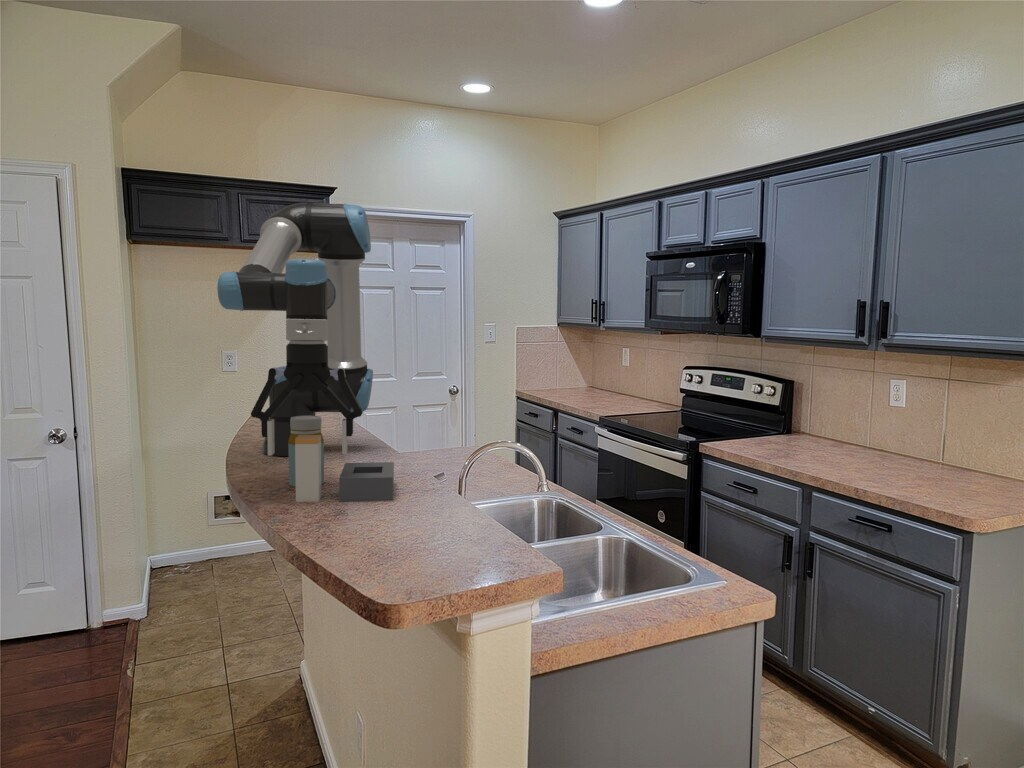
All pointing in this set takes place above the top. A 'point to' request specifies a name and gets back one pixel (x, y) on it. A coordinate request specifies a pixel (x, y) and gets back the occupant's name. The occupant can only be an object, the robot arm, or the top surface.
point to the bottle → (303, 427)
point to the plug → (308, 468)
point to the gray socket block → (366, 482)
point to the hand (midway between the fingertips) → (308, 453)
